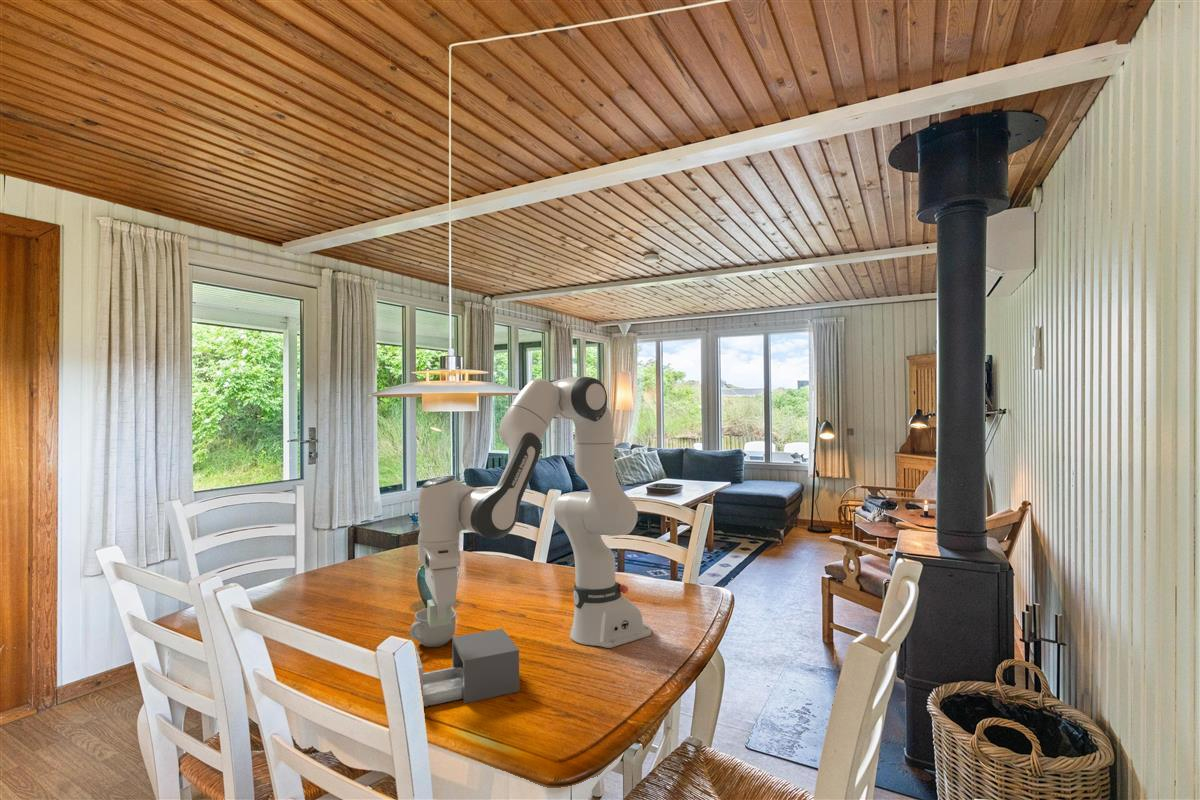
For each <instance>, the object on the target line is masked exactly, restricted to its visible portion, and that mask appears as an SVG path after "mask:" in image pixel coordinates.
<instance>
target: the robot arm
mask: <svg viewBox="0 0 1200 800" xmlns="http://www.w3.org/2000/svg"><path fill="white" fill-rule="evenodd" d="M607 395H608V394H607V390H606V387H605V385H604V383H602V381H601V380H599V379H598V378H594V377H590V376H583V377H580V376H579V377H577V376H570V377H565V378H560V379H552V380H550V381H549V380H547V379H544V378H534V379H531V380H530V381H528V382H527V384H525V385H524V387H523V388H522V389H521V390H520V391H519V393H518V394H517V395H516V397H515V398H514V399H513V401H512V402H511V404H510V406H509V407H508V408H507V410H506V411H505V413H504V415H503V417H502V419H501V421H500V425H499V428H498V430H499V436H500V438H501V440H502V442H503V444H504V445H505V446H506V447H507V448H508V449H509V450H510V454H509V459H508V462H507V464H506V466H505V468H504V471H503V472H502V475H501V476H500V479H499V481H498V483H497V484H496V486H495V487H494V488H493V489H491V490H490V491H488V490H484V489H481V488H475V487H473V486H470V485H467V484H465V483H463V482H461V481H459V480H458V479H457V478H455V477H454V476H449V475H448V476H438V477H434V478H430V479H428V480H426V481H425V482H424V483H422V485H421V487H420V490H419V494H418V495H419V496H418V507H417V512H418V513H417V520H418V523H419V524H418V525H419V533H418V537H417V555H418V556H417V560H418V562H419V563H422V564H423V568H424V579H425V581H424V582H425V584H426V585H427V587H428V589H429V592H430V594H431V599H434V600H435V602H436V604H437V618H438V620H443V619H445V618H446V609H447V606H448V605H451V606H452V605H455V602H456V599H457V589H458V575H459V574H458V572H459V571H458V570H459V569H458V567H460V566H461V555H460V550H461V549H460V533H461V531H469V532H471V533H474V534H478V535H480V536H481V537H484V538H486V539H488V540H499V539H502V538H504V537H506V536H507V535H509V533H510V532H511V531H512V530H513V529H514V527H515V526H516V523H517V520H518V516H519V511H520V506H521V501H522V498H523V496H524V494H525V492H526V489H527V487H528V484H529V483H530V480H531V478H532V475H533V473H534V470H535V468H536V466H537V464H538V460H539V458H540V455H541V451H542V442H543V438H544V436H545V434H546V432H547V430H548V429H549V427H550V425H551V423H552V420H553V419H562V420H563V419H564V420H565V419H566V420H572V422H573V425H574V471H575V472H576V474H577V476H579V478H581V479H582V480H583V481H584V482H585V484H586V486H587V489H588V491H589V492H586V491H570V492H567V493H566V492H565V493H563V494H560V495H559V497H558V498H557V500H556V501H555V504H554V506H553V507H554V509H553V514H554V519H555V521H556V523H557V524H558V526H560V527H561V529H563V531H564V532H565V534H566V535H567V537H568V539H569V540H568V541H569V542H570V545H571V548H572V552H573V557H574V558H573V559H574V569H575V571H574V573H575V575H574V576H575V577H574V578H575V581H574V584H573V603H574V612H573V620H572V626H571V629H570V633H569V637H570V639H571V640H572V641H573V642H576V643H578V644H581V645H587V646H595V647H596V646H597V647H602V648H605V649H606V648H607V649H611V648H614V647H618V646H620V645H624V644H627V643H630V642H633V641H637V640H640V639H643V638H646V637H649V636H651V635H652V630H651V629H652V628H651V627H650V626H649V625H648V624H647V623H646V622H645V621H644V619H643V615H642V612H641V610H640V609H639V607H638V606H637V605H636V604H634V603H633V602H632V601H631V600H629V599H628V598H626V597H625V596H623V594H627V593H628V592H629V587H628V586H626V585H625V584H621V583H619V582H617V581H616V556H615V553H614V552H613V550H612V549H611V548H610V547H609V546H607V545H606V543H605V542H604V541H603V538H602V535H604V536H609V537H617V536H626V535H627V536H628V535H629V534H631V532H632V531H633V530H634V529H635V527H636V525H637V522H638V515H639V514H638V509H637V506H636V504H635V503H634V501H633V500H632V499H630V497H629V496H628V495H627V494H626V493H625V492H624V489H623V488H622V486H621V484H620V481H619V479H618V476H617V472H616V464H615V463H616V461H615V432H614V424H613V418H612V413H611V410H610V409H609V408H608V407H607V406H608V396H607Z"/></svg>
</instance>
